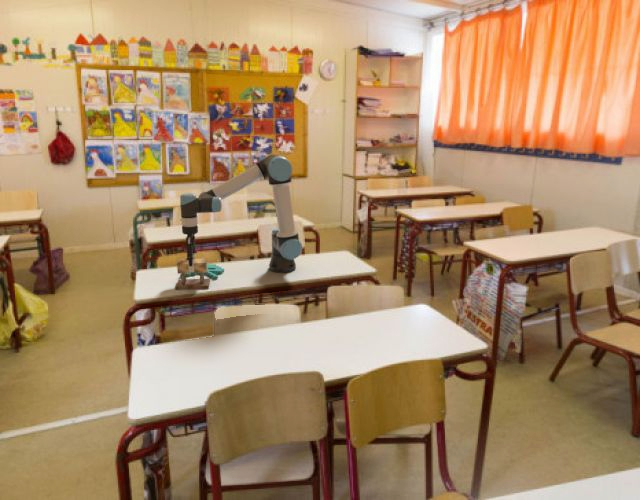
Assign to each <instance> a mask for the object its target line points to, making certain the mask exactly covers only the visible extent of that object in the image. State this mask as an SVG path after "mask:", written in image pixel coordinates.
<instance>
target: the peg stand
mask: <svg viewBox="0 0 640 500" xmlns="http://www.w3.org/2000/svg"><path fill="white" fill-rule="evenodd" d="M181 277H182V278H180V279H178V280H177V282H176V285H175V290H176V291H177V290H178V291H179V290H204V289H205V290H208V289H210V284H211V278H210V277H209V278H205V275H204V273H200V274H199V278H188V279H187V277H186V273H181Z"/></svg>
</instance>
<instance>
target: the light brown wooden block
mask: <svg viewBox="0 0 640 500" xmlns="http://www.w3.org/2000/svg"><path fill="white" fill-rule="evenodd" d="M186 259H187V258H178V260H177V263H176V267H177V268H176V269H177V275H178V274H179V275H180V274H181V273H204V272H207V264H208V259H207V258H206V257H201V258H196V259H194V272H189V271H188V260H186Z"/></svg>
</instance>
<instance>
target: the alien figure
mask: <svg viewBox="0 0 640 500" xmlns="http://www.w3.org/2000/svg"><path fill="white" fill-rule="evenodd" d="M224 272H225V268H222V267H221V266H219V265H217V264H214V263H213V264H212V263H207V272H204V276H207V277H209V278H210V279H212V280H218V279H219V275H223V274H224ZM197 275H200V273H186V278H190V277H191V276H193V277H194V276H195V277H196V276H197ZM179 278H180V279H182V277H181V274H179Z"/></svg>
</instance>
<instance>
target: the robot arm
mask: <svg viewBox="0 0 640 500" xmlns="http://www.w3.org/2000/svg"><path fill="white" fill-rule="evenodd" d="M292 174H293V166H292V163H291V161H290V160H289V159H287V157H285V156H282V155H278V154H269V155H268V156H265V157H264V158H262V159H260V160H258V161H257V162H255V163H254V164H253V166H251V167H250V168H248V169H246V170H244V171H243V172H241V173H239V174H237V175H235V176H233V177H232V178H230V179H227V180H226V181H224V182H222V183H221V184H219V185H217V186H214V187H213V188H212V189H211V188H210V189H209V190H207V191H203V192H201V193H200V194H199V195H198V197H197V196H196V194H195V193H190V192H189V193H183V194H180V197H179V198H180V199H179V202H180V203H179V205H180V216H181V217H180V219H179V221H181V232H182V234H183V235H186V237H185V241H186V242H185V243H186V258H185V259H186V260H188V271H189V272H194V259H197V255H196V254H198V251H197V249H196V236H195V235H196V234H198V232H199V226H198V214H203V213H204V214H206V213H220V212H222V201H223V200H225V199H227V198H229V197H231V196H232V195H234V194H236V193H238V192H240V191H242V190H244V189H245V188H247V187H249V186H251V185H253V184H254V183H256V182H258V181H260V180H262V181H265V180H268V184H269V185H270V186H271V187H272V193H273V201H274V207H275V214H276V220H277V221H276V222H277V228H274V229H273V230H272V231H271V258H270V260H269V263H268V269H269V271H271V272H275V273H289V272H293V271H295V270H296V269H297V264H296V261H295V259H297V258H299V256H301V254H302V252H303V245H302V243H301V241H300V237H299V231H298V230H296V227H295V221H294V219H295V218H294V212H293V205H292V196H291V190H290V184H291V183H292Z"/></svg>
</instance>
